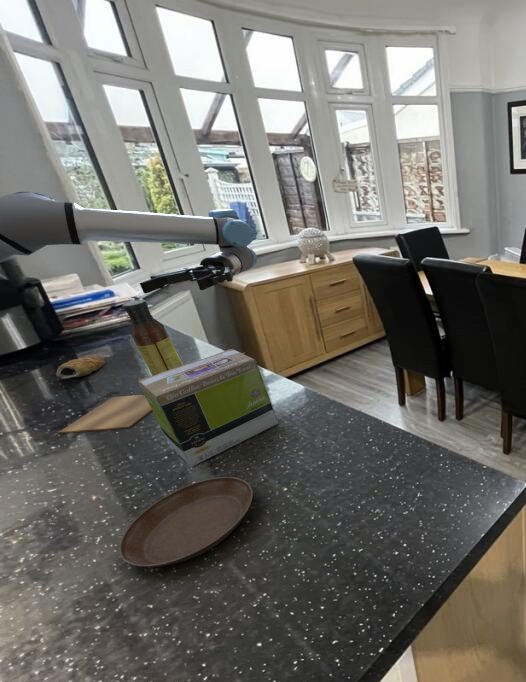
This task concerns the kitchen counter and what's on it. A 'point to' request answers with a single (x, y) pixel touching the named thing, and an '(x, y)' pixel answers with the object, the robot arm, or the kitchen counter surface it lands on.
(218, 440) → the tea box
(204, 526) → the saucer
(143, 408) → the cork mat
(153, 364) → the sauce bottle
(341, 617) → the kitchen counter surface
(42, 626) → the kitchen counter surface
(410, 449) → the kitchen counter surface
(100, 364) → the pastry
